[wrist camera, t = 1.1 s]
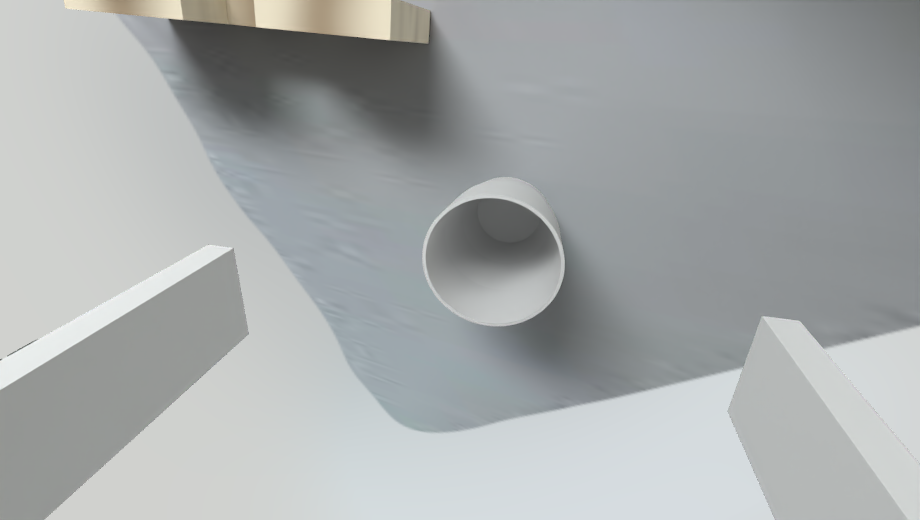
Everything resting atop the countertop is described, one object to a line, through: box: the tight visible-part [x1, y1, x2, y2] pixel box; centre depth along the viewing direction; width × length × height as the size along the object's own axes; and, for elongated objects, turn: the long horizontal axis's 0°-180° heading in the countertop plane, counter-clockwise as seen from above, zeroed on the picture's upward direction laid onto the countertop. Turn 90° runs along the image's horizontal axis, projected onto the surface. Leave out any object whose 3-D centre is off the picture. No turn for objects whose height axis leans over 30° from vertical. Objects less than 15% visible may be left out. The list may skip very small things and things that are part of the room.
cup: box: [422, 177, 565, 326], centre depth 31 cm, size 8×8×10 cm
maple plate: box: [64, 0, 430, 44], centre depth 30 cm, size 20×2×8 cm, turn 85°
